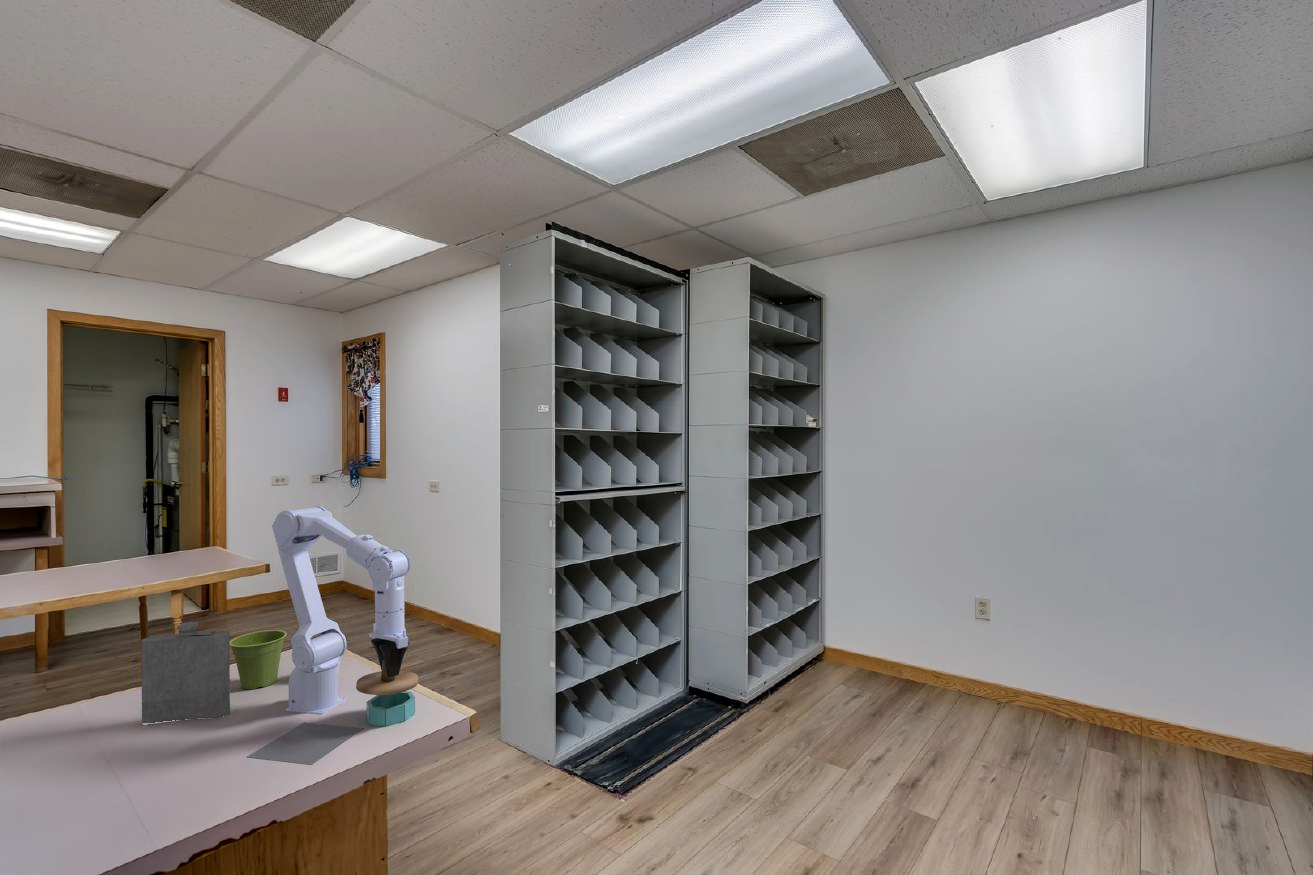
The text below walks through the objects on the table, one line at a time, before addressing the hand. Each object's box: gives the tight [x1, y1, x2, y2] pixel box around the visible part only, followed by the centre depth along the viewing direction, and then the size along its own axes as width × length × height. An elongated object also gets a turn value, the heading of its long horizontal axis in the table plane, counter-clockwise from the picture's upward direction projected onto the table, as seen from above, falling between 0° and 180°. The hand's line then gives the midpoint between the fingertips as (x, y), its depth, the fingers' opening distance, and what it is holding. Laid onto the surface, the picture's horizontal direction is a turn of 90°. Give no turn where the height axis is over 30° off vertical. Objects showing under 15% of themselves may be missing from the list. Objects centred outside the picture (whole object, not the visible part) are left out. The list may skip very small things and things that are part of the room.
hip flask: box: [140, 621, 231, 724], centre depth 130 cm, size 16×4×20 cm, turn 104°
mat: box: [246, 722, 364, 766], centre depth 118 cm, size 14×14×1 cm
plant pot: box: [229, 629, 288, 690], centre depth 148 cm, size 12×12×11 cm
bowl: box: [365, 690, 416, 727], centre depth 129 cm, size 9×9×4 cm
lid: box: [355, 660, 419, 696], centre depth 129 cm, size 12×12×5 cm
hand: (390, 673), depth 129 cm, fingers closed on lid, 3 cm apart
